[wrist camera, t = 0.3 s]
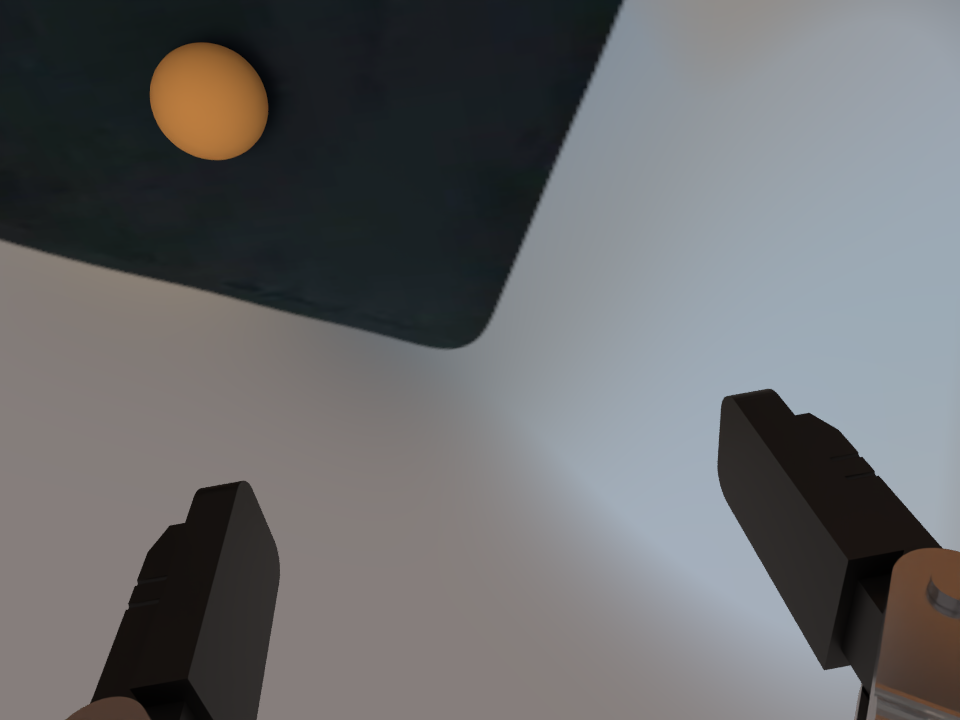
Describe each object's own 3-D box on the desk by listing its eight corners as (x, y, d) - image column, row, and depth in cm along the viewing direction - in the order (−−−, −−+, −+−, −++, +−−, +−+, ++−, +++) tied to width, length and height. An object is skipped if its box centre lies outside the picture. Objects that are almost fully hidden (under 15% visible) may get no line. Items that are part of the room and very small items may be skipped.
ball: (149, 42, 32) (115, 63, 28) (257, 26, 33) (238, 44, 28) (188, 149, 35) (161, 182, 31) (286, 134, 35) (273, 165, 31)
